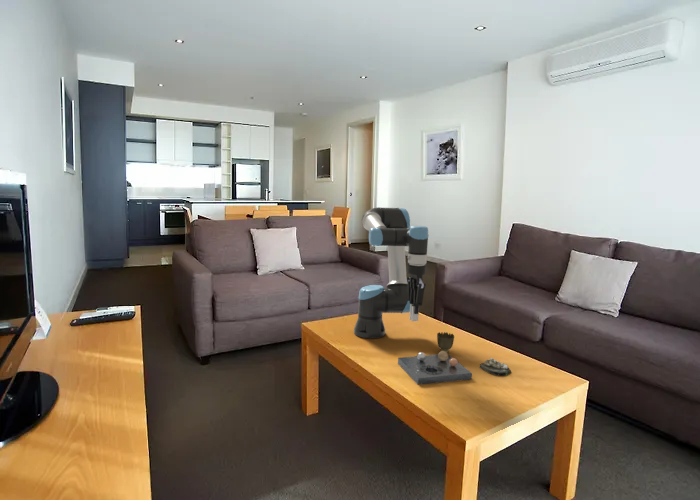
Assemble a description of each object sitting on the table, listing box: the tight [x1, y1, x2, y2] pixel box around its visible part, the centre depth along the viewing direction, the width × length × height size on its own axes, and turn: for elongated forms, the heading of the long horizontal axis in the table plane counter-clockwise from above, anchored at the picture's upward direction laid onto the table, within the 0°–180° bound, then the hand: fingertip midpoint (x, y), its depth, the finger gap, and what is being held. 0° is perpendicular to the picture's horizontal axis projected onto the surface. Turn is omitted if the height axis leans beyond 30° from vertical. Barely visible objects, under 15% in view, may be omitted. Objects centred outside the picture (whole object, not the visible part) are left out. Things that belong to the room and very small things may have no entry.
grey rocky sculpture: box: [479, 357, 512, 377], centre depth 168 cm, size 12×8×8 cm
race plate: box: [397, 354, 473, 386], centre depth 165 cm, size 19×22×2 cm
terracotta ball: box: [449, 357, 459, 367], centre depth 164 cm, size 3×3×3 cm
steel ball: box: [416, 351, 426, 361], centre depth 168 cm, size 3×3×3 cm
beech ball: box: [437, 351, 449, 361], centre depth 168 cm, size 4×4×4 cm
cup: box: [436, 331, 455, 354], centre depth 184 cm, size 8×7×8 cm
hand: (413, 320), depth 175 cm, fingers closed
